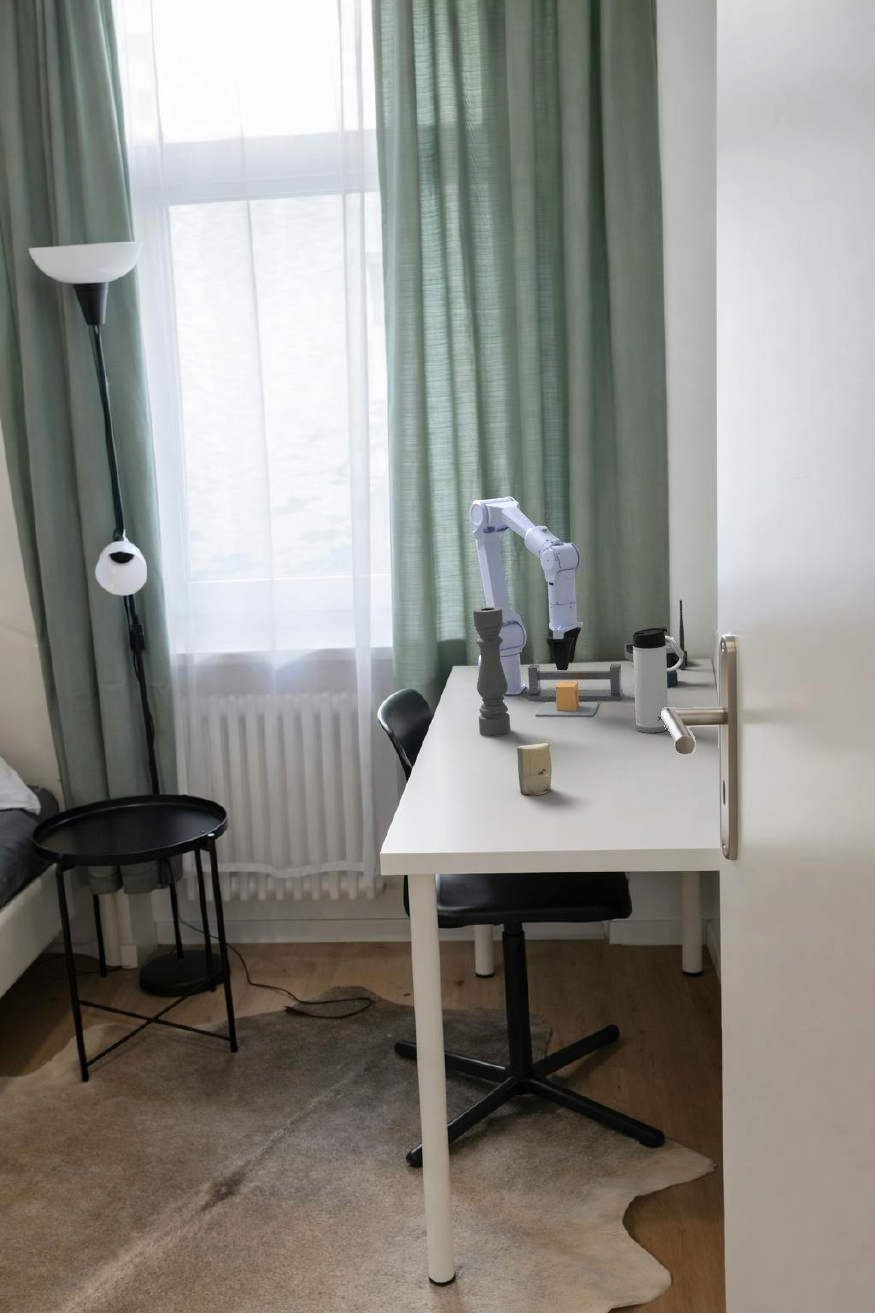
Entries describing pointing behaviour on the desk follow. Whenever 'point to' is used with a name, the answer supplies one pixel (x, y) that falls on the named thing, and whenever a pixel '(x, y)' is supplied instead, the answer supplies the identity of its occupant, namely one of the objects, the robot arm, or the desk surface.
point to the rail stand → (583, 695)
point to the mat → (581, 710)
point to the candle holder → (491, 673)
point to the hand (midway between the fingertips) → (565, 665)
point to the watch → (671, 672)
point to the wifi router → (670, 653)
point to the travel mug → (650, 679)
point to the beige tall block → (534, 769)
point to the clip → (567, 696)
